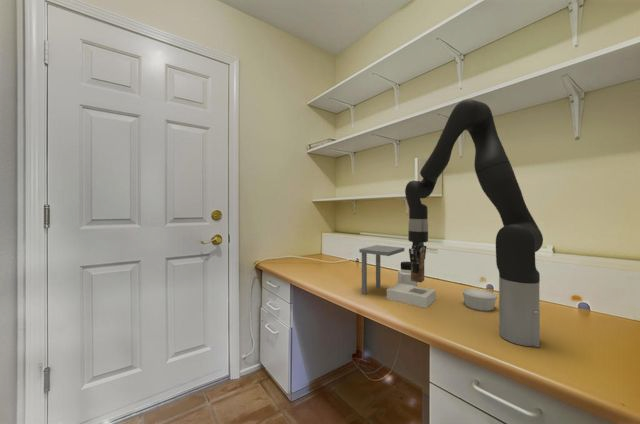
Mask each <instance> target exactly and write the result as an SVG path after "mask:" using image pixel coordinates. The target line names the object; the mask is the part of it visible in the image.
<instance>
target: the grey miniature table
mask: <svg viewBox="0 0 640 424" xmlns="http://www.w3.org/2000/svg"><path fill="white" fill-rule="evenodd" d="M358 252H359V253H361V294H362V295H365V296H366V295H367V294H368V282H367V281H368V280H367V279H368V278H367V277H368V275H367V273H368V272H367V271H368V268H367V267H368V265H367V264H368V263H367V261H368V260H367V259H368V258H367V256H368V254H371V255H375V287H376V288H381V256H385V257H390V256H393V255H397V254H399V253H404V252H405V247H400V246H390V245H379V244H376V245H370V246H367V247H362V248H359V251H358Z"/></svg>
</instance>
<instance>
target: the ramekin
mask: <svg viewBox="0 0 640 424" xmlns="http://www.w3.org/2000/svg"><path fill="white" fill-rule="evenodd" d="M461 291H462V295H463V302H464V304H465V306H466V307H468V308H470V309H473V310H476V311H481V312H490V311H493V310H494V308H495V305H496V300H497V298H498V297H497V294H496V293H493V292H491V291H488V290H484V289H479V288H478V289H477V288H467V289H464V290H461Z"/></svg>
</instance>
